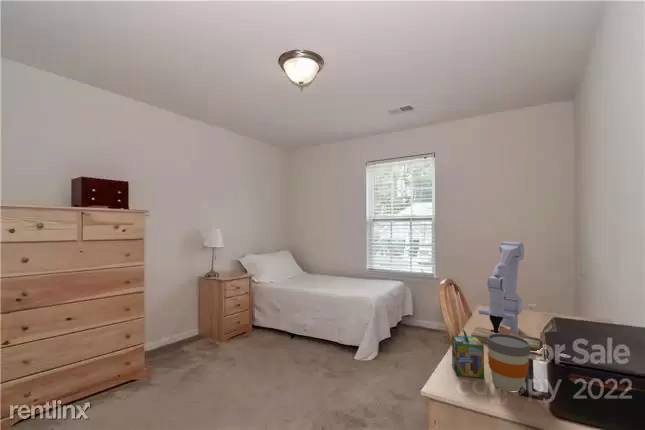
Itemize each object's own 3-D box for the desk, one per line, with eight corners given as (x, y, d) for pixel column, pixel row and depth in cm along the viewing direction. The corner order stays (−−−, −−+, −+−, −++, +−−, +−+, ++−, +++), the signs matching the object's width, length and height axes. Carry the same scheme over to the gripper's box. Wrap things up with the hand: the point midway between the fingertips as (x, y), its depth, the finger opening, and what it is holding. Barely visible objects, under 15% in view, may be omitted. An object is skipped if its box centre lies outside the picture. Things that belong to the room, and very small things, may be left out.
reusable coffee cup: (537, 388, 104) (537, 342, 105) (518, 400, 98) (518, 351, 98) (498, 372, 115) (499, 330, 115) (479, 381, 108) (479, 337, 108)
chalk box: (484, 379, 110) (484, 336, 110) (456, 376, 112) (456, 334, 112) (477, 366, 119) (477, 327, 119) (451, 364, 121) (451, 325, 121)
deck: (476, 331, 156) (476, 320, 156) (542, 344, 141) (542, 332, 141) (471, 339, 146) (471, 327, 146) (542, 355, 130) (542, 341, 130)
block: (500, 333, 146) (500, 325, 146) (510, 336, 144) (510, 327, 144) (499, 336, 143) (499, 327, 143) (509, 338, 141) (509, 329, 141)
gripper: (477, 302, 147) (477, 331, 147) (514, 307, 138) (513, 338, 138) (480, 298, 152) (480, 327, 152) (515, 304, 144) (515, 334, 144)
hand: (496, 332), depth 145 cm, fingers closed
